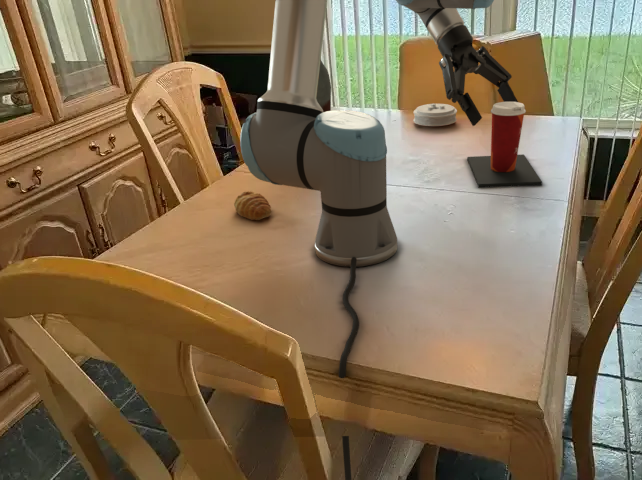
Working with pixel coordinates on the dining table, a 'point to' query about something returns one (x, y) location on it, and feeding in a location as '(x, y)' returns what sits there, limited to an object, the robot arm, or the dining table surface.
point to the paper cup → (506, 135)
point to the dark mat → (503, 173)
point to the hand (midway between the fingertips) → (497, 116)
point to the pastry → (252, 206)
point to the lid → (435, 115)
